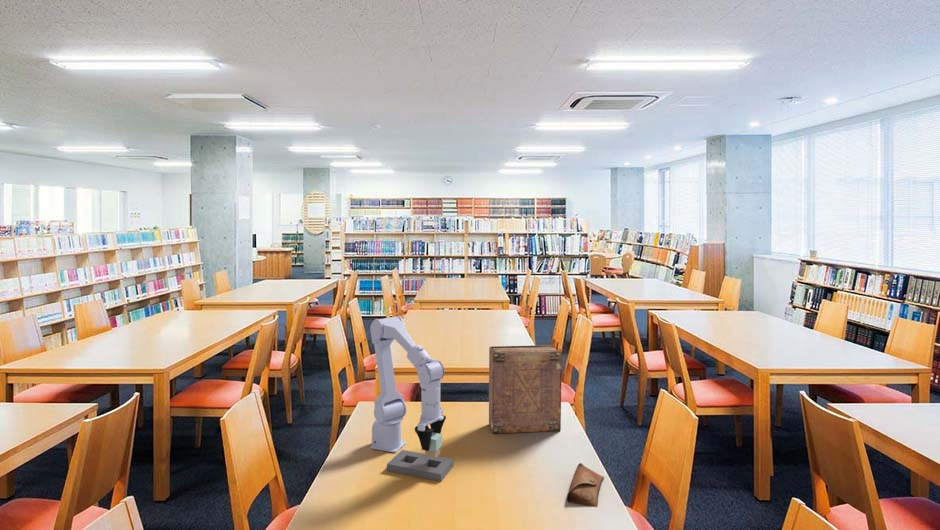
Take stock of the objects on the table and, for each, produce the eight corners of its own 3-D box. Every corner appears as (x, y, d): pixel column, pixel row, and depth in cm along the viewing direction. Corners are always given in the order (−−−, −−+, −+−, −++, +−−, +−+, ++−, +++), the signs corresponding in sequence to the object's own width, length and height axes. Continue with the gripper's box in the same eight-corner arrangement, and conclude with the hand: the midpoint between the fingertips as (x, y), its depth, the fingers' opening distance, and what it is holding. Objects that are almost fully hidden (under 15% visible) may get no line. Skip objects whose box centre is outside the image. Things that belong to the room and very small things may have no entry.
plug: (423, 456, 148) (422, 437, 148) (429, 450, 152) (429, 431, 152) (436, 459, 147) (436, 439, 146) (442, 452, 151) (442, 434, 150)
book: (553, 421, 188) (555, 344, 186) (560, 431, 179) (562, 351, 177) (488, 424, 185) (489, 346, 183) (492, 434, 176) (493, 352, 174)
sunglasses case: (599, 508, 131) (586, 485, 131) (575, 516, 133) (563, 493, 134) (604, 476, 147) (593, 455, 148) (584, 483, 150) (573, 463, 150)
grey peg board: (387, 470, 150) (387, 463, 150) (402, 456, 159) (402, 449, 159) (441, 481, 144) (441, 474, 144) (453, 465, 153) (453, 459, 153)
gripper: (433, 411, 140) (433, 457, 142) (451, 395, 154) (451, 436, 155) (411, 408, 143) (411, 453, 144) (431, 392, 156) (431, 433, 157)
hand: (430, 444), depth 150 cm, fingers open, 7 cm apart
